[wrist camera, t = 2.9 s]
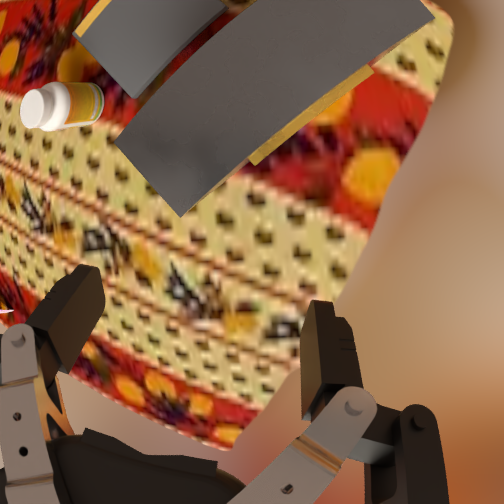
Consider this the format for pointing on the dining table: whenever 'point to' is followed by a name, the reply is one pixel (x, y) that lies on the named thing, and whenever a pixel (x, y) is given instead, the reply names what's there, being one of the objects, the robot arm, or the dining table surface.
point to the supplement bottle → (62, 106)
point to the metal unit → (258, 88)
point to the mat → (143, 35)
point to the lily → (5, 311)
